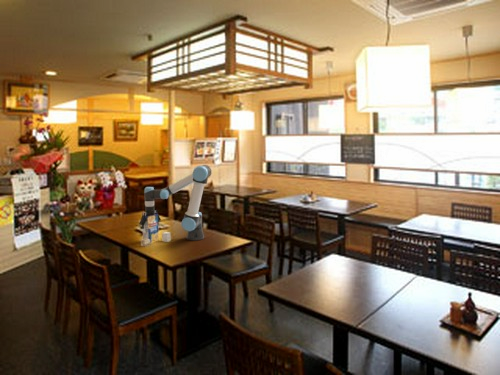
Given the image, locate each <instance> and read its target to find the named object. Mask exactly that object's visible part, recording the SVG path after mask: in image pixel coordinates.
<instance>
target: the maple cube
mask: <svg viewBox="0 0 500 375" xmlns="http://www.w3.org/2000/svg"><path fill="white" fill-rule="evenodd" d="M140 246H141V247H144V248H145V247H146V248H147V247H149V246H151V243H150V239H143V238H142V239H140Z"/></svg>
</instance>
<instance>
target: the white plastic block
mask: <svg viewBox="0 0 500 375" xmlns="http://www.w3.org/2000/svg"><path fill="white" fill-rule="evenodd" d="M161 238H162V239H161V240H162V241H161V242H165V243H168V242H171V240H172V237H171V232H169V231H164V232H162V233H161Z"/></svg>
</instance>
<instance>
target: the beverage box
mask: <svg viewBox="0 0 500 375" xmlns="http://www.w3.org/2000/svg"><path fill="white" fill-rule="evenodd" d="M158 215H159V214H158ZM158 215H157V214H155V213H154V215H151V216H146V215H145V218H144V219H146V222H145V224H144V225H145V233H143V232H142V239H150V244H152V243H154V242H157V241H159V240H160V236H159V235H160V234H159V232H160V231H159V229H158V228H159V225H158Z"/></svg>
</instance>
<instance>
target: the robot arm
mask: <svg viewBox="0 0 500 375" xmlns="http://www.w3.org/2000/svg"><path fill="white" fill-rule="evenodd" d="M211 175H212V169H211V167H210V166H208V165H206V164H200V165H198V166H196V167H195V168H194V169H193V170H192V173H190V174H189V175H187V176H185V177H183V178H181V179H179V180H177V181H176V182H174V183H171V184H169V185H168V186H166V187H164V188H162V189H161V188H160V189H154V188H155V187H154V186H146V187H145V188H144V193H143V194H144V211H145V212H142V214H141V218H140V220H139V223H138V224H139V225H141V230H142V234H143V233H145V225H144V224H145V222H146V219H144V218H145V215H146V216H151V215H154V214H157V215H158V226H159V225H160V222H161V221H162V218H161V217H160V215H159V213H158V210H157V209H156V210H155V200H165V199H166V200H167V199H168V198H169V197H170V196H171V195H173V194H176V193H177V192H179V191H181V190H183V189H185V188H186V187H189V186H190V185H192V189H191V194H190V199H189V203H188V206H187V211H186V212H184V216H183V219H181V220H182V221H181V225H180V226H181V227H182V229H183V230H185V231H186V232H187V233H186V240H187V241H188V240H189V241H200V240H204V239H205V234H204V230H203V214H202V212H200V211H199V210H200V206H201V201H202V196H203V192H204V189H205V186H206V185H207V184H208V179H209V178H210V177H211ZM159 228H160V227H158V230H160V229H159Z"/></svg>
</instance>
